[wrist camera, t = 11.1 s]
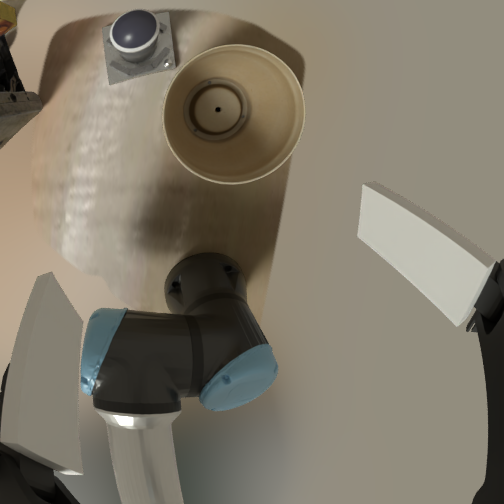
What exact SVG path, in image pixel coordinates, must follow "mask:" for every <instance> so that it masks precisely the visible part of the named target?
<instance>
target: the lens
mask: <svg viewBox="0 0 504 504" xmlns="http://www.w3.org/2000/svg"><path fill="white" fill-rule="evenodd" d="M159 27H160V24H159V20H158V18H157V16H156V15H155V14H154V13H152V12H151V11H148V10H145V9H135V10H131V11H128V12H126V13H124V14H122V15H121V16H120V17H118V18H117V19H116V20H115V22H114V23H113V25H112V27H111V30H110V40H111V42H112V44H113V45H114V47H115V48H116V49H117V51H118V52H119V54H120V55H121V57H122V58H123V59H124V60H126V61H127V62H130V63H140V62H143V61H145V60H147V59H148V58H150V57H151V56H152V55H153V54H154V52H155V50H156V47H157V41H158V34H159Z"/></svg>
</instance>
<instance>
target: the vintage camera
mask: <svg viewBox="0 0 504 504" xmlns="http://www.w3.org/2000/svg"><path fill="white" fill-rule="evenodd" d="M41 110H42V102H41V100H40V98H39V96H38V95H37V94H36V93H34V92H26V91H25V89H24V87H23V84H22V82H21V80H20V78H19V76H18V72H17V69H16V66H15V64H14V62H13V58H12V56H11V53H10V50H9V47H8V44H7V42H6V39H5V35H4V34H3V35H2V36H0V149H1V148H2V147H3V146H4V145H5V144H6V143H7V142H8V141H9V140H10V139H11V138H12V137H13V136H14V135H15V134H16V133H17V132H18V131H19V130H20V129H21V128H22V127H23V126H25V125H26V124H27V123H28V122H29V121H30V120H31V119H32V118H33V117H35V116H36V115H37V114H38V113H39V112H40V111H41Z"/></svg>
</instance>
